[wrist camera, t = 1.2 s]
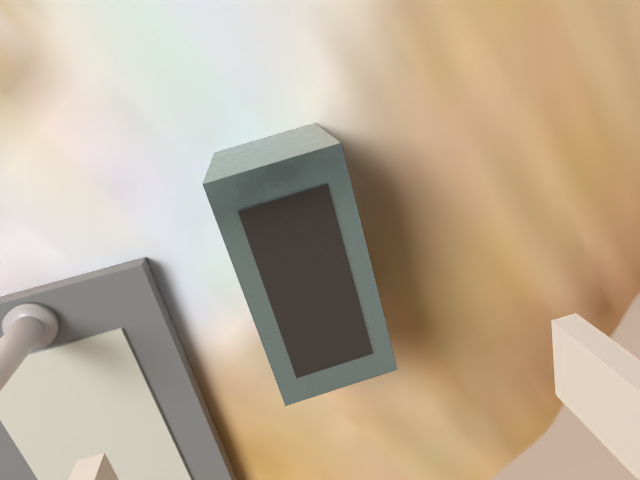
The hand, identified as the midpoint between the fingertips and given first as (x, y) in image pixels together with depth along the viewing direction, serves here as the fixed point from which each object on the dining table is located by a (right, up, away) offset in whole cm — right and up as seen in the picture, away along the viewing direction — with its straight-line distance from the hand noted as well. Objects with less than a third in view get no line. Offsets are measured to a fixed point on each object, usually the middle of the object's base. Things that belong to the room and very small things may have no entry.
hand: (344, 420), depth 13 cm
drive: (-2, +6, +16) cm, 17 cm away
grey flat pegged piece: (-16, -7, +18) cm, 25 cm away
